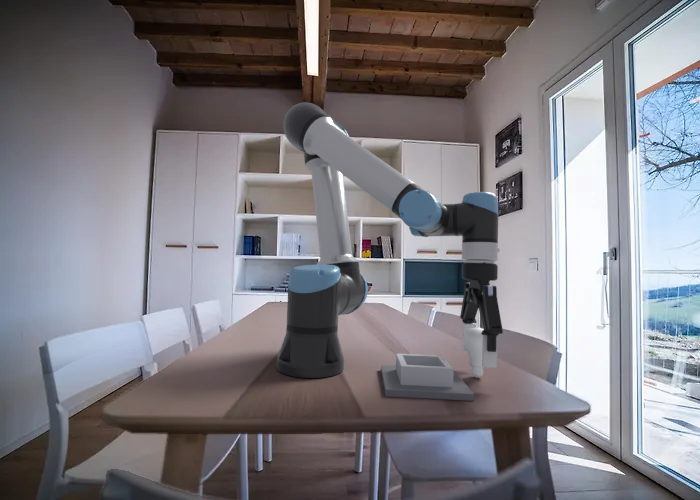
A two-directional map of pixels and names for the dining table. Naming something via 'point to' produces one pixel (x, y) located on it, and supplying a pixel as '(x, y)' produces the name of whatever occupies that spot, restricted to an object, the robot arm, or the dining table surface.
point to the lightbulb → (474, 350)
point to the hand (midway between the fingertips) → (478, 358)
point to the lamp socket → (423, 378)
